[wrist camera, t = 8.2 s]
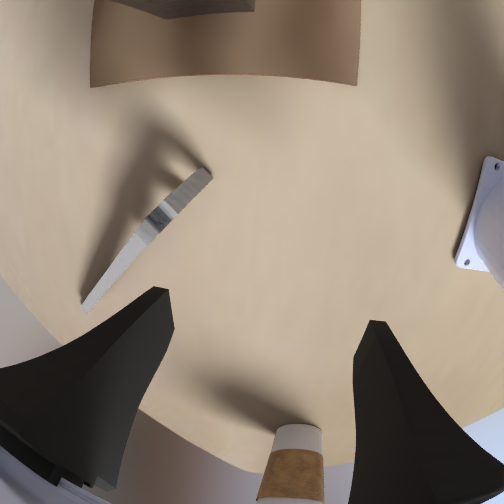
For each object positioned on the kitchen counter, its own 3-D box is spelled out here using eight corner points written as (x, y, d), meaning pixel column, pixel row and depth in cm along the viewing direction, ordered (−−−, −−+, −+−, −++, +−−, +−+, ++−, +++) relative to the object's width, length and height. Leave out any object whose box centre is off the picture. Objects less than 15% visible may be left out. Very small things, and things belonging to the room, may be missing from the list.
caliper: (204, 162, 18) (159, 198, 12) (217, 175, 18) (177, 215, 13) (83, 303, 27) (50, 344, 22) (90, 310, 27) (58, 352, 22)
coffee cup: (342, 423, 30) (336, 538, 17) (318, 447, 34) (307, 541, 22) (275, 413, 30) (252, 533, 18) (260, 438, 35) (239, 535, 22)
